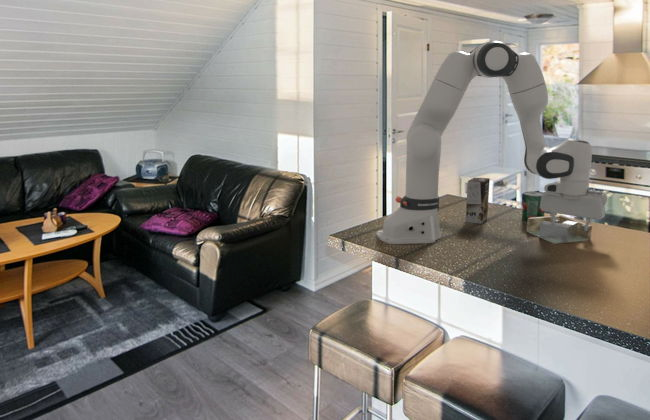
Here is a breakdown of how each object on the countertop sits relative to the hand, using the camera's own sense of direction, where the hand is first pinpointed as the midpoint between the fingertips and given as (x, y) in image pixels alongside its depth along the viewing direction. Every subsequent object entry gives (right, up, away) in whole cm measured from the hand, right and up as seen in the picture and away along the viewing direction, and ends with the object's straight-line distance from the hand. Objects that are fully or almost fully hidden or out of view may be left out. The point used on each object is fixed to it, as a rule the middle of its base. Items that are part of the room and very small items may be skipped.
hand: (569, 227), depth 175 cm
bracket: (-4, -3, +1) cm, 5 cm away
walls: (-3, -3, +4) cm, 5 cm away
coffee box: (-24, +2, +25) cm, 35 cm away
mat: (-3, -3, +4) cm, 5 cm away
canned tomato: (-4, +1, +22) cm, 22 cm away
